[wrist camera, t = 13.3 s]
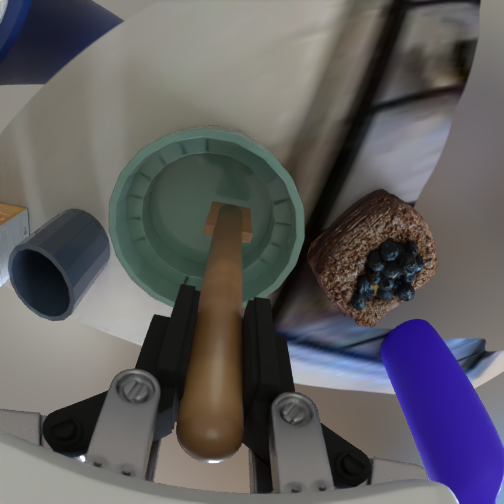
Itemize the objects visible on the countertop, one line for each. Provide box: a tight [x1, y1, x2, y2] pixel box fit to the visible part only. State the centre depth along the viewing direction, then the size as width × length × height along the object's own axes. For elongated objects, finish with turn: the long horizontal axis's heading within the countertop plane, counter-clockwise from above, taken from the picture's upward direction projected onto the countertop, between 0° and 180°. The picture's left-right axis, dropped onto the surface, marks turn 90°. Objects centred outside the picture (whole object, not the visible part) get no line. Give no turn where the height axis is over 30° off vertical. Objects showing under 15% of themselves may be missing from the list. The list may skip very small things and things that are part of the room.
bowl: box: [109, 125, 305, 308], centre depth 23 cm, size 14×14×6 cm
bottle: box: [381, 319, 504, 504], centre depth 20 cm, size 8×8×30 cm
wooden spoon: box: [176, 201, 252, 463], centre depth 14 cm, size 2×3×19 cm, turn 77°
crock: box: [8, 209, 110, 321], centre depth 23 cm, size 7×7×8 cm
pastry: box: [307, 189, 438, 327], centre depth 25 cm, size 11×12×6 cm
